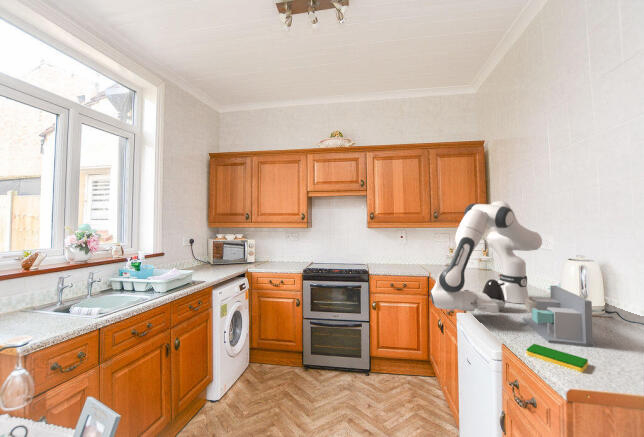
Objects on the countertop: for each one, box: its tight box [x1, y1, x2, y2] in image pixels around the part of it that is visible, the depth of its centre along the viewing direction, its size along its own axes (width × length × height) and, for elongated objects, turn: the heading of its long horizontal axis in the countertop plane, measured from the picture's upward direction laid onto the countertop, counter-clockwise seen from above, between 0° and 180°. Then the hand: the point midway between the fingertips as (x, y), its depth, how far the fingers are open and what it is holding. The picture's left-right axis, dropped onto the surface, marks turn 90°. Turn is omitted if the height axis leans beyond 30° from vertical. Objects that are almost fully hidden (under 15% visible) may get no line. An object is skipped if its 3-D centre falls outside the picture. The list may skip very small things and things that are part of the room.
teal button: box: [531, 308, 554, 324], centre depth 104 cm, size 8×4×4 cm, turn 73°
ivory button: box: [524, 298, 537, 313], centre depth 117 cm, size 8×4×4 cm, turn 73°
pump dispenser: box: [481, 278, 506, 312], centre depth 137 cm, size 10×10×15 cm
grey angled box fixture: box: [521, 285, 597, 348], centre depth 109 cm, size 14×24×16 cm, turn 163°
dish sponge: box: [526, 343, 589, 373], centre depth 88 cm, size 7×14×2 cm, turn 35°
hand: (503, 303), depth 120 cm, fingers closed
